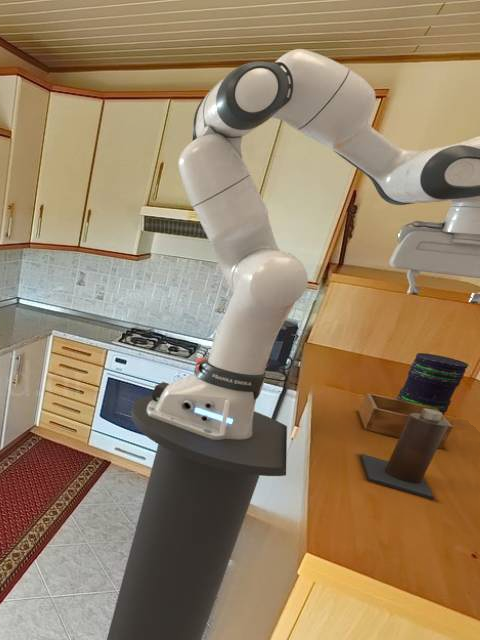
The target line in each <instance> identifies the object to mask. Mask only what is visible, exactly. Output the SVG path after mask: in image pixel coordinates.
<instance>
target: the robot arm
mask: <svg viewBox="0 0 480 640" xmlns="http://www.w3.org/2000/svg"><path fill="white" fill-rule="evenodd" d="M375 106H376V91H375V89H374V88H373V87H372V86H371V85H370V84H369V83H368V81H367V80H366V79H364V78H363V77H362V76H361V75H359V74H358V73H357V72H355V71H353V70H352V69H350V68H348V67H346V66H345V65H343V64H341V63H340V62H338V61H336V60H333V58H329V57H327V56H324V55H322V54H320V53H317V52H315V51H311V50H307V49H303V48H296V49H295V48H294V49H293V50H292V49H291V50H290V51H287V52H286V53H284V54H283V55H281V56H280V57H279V58H278V59H276V60H275V61H272V62H271V61H270V62H269V61H262V60H261V61H260V60H259V61H251V62H247V63H244V64H242V65H240V66H238V67H236V68H234V69H233V70H231V71H230V72H229V73H228V74H227V75H226V76H225V77H224V78H223V79H221V80H219V81H218V82H216V84H215V85H213V86H212V88H211V89H210V90H209V91H208V93H207V94H206V95H205V97H203V98H202V99H201V101H200V103H199V104H198V106H197V108H196V110H195V113H194V117H193V125H192V126H193V127H192V128H193V131H192V140H191V142H190V143H188V144H187V145H186V146H185V147H184V149H183V150H182V152H181V153H180V155H179V157H178V159H177V166H178V167H177V168H178V171H179V175H180V177H181V178H180V179H181V183H182V185H183V188H184V191H185V193H186V196H187V198H188V200H189V203H190V204H191V205H190V206H191V207H192V209H193V210H194V213H195V215H196V217H197V219H198V221H199V223H200V224H201V227H202V229H203V230H204V233H205V235H206V237H207V239H208V241H209V243H210V245H211V249H212V251H213V254H214V256H215V259H216V261H217V263H218V266H219V268H220V270H221V273H222V275H223V277H224V279H225V282H226V284H227V286H228V288H229V290H230V291H231V292H232V295H231V296H232V297H231V299H230V302H229V304H228V306H227V308H226V310H225V312H224V315H223V317H222V320H221V321H220V323H219V324H218V325H217V328H216V331H215V334H214V338H213V341H212V345H211V348H210V352H209V355H208V359H207V358H205V357H203V356H200V357H199V358H197V360H196V361H195V368H194V372H193V374H191V375H188V376H185V377H183V378H180V379H177V380H175V381H172V382H170V383H167V382H165V381H162V382H160V383H158V384H156V385H155V386H154V389H153V390H152V392H151V395H152V398H153V400H152V401H151V402H150V403H149V404H148V406H147V409H146V411H147V414H148V415H149V416H150V417H153V418H155V419H158V420H161V421H163V422H166V423H169V424H171V425H174V426H177V427H180V428H182V429H185V430H188V431H190V432H193V433H196V434H199V435H201V436H204V437H207V438H210V439H213V440H222V439H236V440H240V439H248V438H250V437H251V436H252V435H253V431H252V425H253V414H254V411H255V408H256V402H257V399H258V398H259V397H260V395H261V393H262V390H263V387H264V384H265V381H266V379H265V378H266V373H265V372H266V368H267V364H268V361H269V359H270V356H271V353H272V350H273V347H274V344H275V342H276V339H277V337H278V334H279V332H280V330H281V328H282V327H283V326H284V324H285V322H286V320H287V318H288V316H289V314H290V313H291V311H292V309H293V307H294V305H295V304H296V303H297V302H298V301H299V300H300V299H301V298H302V296H303V295H304V294H305V292H306V290H307V288H308V283H309V276H308V272H307V270H306V268H305V266H304V264H303V263H302V262H301V260H300V259H299V258H298V257H297V256H295V255H293V254H292V253H290V252H286V251H283V250H281V249H280V248H279V247H278V244H277V242H276V238H275V236H274V233H273V229H272V227H271V226H272V225H271V223H270V219H269V211H268V208H267V207H266V204H265V202H264V199H263V198H262V196H261V194H260V192H259V189H258V187H257V185H256V183H255V181H254V179H253V177H252V175H251V173H250V171H249V169H248V167H247V165H246V163H245V162H244V160H243V155H242V140H243V138H244V137H246V136H247V135H250V133H252V132H253V131H255V130H256V129H258V127H260V126H261V125H263V124H264V123H266V122H268V121H269V120H270V119H271V118H272V119H277V120H280V121H283V122H285V124H287V125H288V126H290V127H292V128H293V129H295V130H296V131H298V132H299V133H301V134H303V135H304V136H306V137H308V138H310V139H312V140H314V141H315V142H318V143H319V144H321V145H323V146H325V147H326V148H328V149H330V150H332V152H334V153H335V154H336V155H338V156H339V157H341V158H342V159H343V160H344V161H346V162H347V163H349V164H350V165H352V166H353V167H354V168H355V169H357V170H358V171H360V172H361V173H362V174H364V175H365V176H366V177H367V178H368V179H369V180H370V181H371V183H372V184H373V186H374V188H375V190H376V192H377V194H378V195H379V197H380V198H381V199H383V201H385V202H387V203H389V204H391V205H396V206H405V205H411V204H421V203H422V204H425V203H440V202H442V203H443V202H449V201H451V204H450V207H449V209H448V211H447V214H446V216H445V219H444V221H443V222H438V221H437V222H436V221H423V220H414V221H413V222H409V223H407V224H404V225H403V226H402V227H401V228H400V231H399V233H398V235H397V241H398V244H397V245H396V247H395V249H394V250H393V253H392V255H391V256H390V259H389V262H388V263H389V265H390V267H391V268H393V269H400V270H407V273H406V277H407V281H408V284H409V286H408V289H407V291H406V294H407V295H413V296H418V295H419V292H420V290H421V288H422V286H421V285H417V284H416V280H415V277H416V278H417V277H419V275H420V272H425V273H433V274H439V275H440V274H441V275H450V276H457V277H465V278H472V279H473V278H474V279H480V135H478V136H475V137H472V138H470V139H467V140H464V141H460V142H457V143H453V144H448V145H444V146H438V147H434V148H429V149H424V150H412V149H411V150H409V149H404V148H401V147H399V146H397V145H396V144H395V143H393V142H392V141H391V140H389V139H388V138H386V137H385V136H384V135H382V133H380V132H378V131H377V130H376V129H374V128H373V127H372V125H371V124H370V120H369V119H370V118H371V116H372V114H373V112H374V110H375ZM467 302H468V303H471V304H477V305H480V291H478V292H477V293H476V292H471V294H470V297H469V298H468V301H467ZM156 397H158V398H156Z"/></svg>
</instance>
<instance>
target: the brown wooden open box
mask: <svg viewBox="0 0 480 640" xmlns="http://www.w3.org/2000/svg"><path fill="white" fill-rule="evenodd" d="M423 409H432V410H436V411H438V412H440V411H439V410H438V409H437V408H433V407H429V406H424V405H420V404H415V403H411V402H406V401H402V400H397V398H393V397H389V396H388V397H387V396H384V395H379V394H375V393H369V392H366V393H365V395H364V397H363V400H362V403H361V404H360V408H359V409H358V414H359V417H360V419H361V422H362V425H363V428H364V430H366V431H370V432H373V433H377V434H382V435H386V436H390V437H394V438H396V439H397V438H398V439H399V438H400V435H401V433H402V431H403V429H404V427H405V425H406V422H407V420H408V418H409V416H410V414H411V413H418V414H421V413H422V411H423ZM441 420H443V421H445V422H447V423H448V424H449V426H448V428H447V430H446V432H445V434H444V436H443V438H442V440H441V442H440V444H439V446H438V448H437V449H440V450H441V449H443V448H444V447H445V444H446V442H447V440H448V438H449V436H450V434H451V432H452V430H453V427H454V426H453V425H452V424H451V423H450V422H449V420H448V419H447V418H446V417H445V415H444V416H443V415H442V417H441Z"/></svg>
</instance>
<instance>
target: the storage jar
mask: <svg viewBox="0 0 480 640" xmlns="http://www.w3.org/2000/svg"><path fill="white" fill-rule="evenodd" d="M468 367H469V363H467V362H465V361H462V360H459V359H456V358H451V357H448V356H442V355H438V354H433V353H424V352H418V353H416V355H415V359H413V361H412V363H411V365H410V369H409V370H408V372H407V375H408V376H407V378H406V381H405V383H404V385H403V387H402V388H400V390H399V394H397V396H396V399H397V400H402V401H406V402H411V403H415V404H420V405H424V406H429V407H433V408H437V409H438V410H439V411H440V412H441V413H442V414H443V416H444V417H445V413H447V411H448V409H449V406H451V402H452V401H451V399H452V397H453V395H454V393H455V391H456V389H457V388H458V387H459V386H460V385H461V382H462V380H463V378H464V377H465V373H466V371H467V370H466V369H468Z"/></svg>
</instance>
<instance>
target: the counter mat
mask: <svg viewBox="0 0 480 640" xmlns="http://www.w3.org/2000/svg"><path fill="white" fill-rule="evenodd" d="M360 459H361V462H362V465H363V468H364V472H365V475H366V478H367V481H368V482H372V483H375V484H377V485H381V486H384V487H388V488H391V489H395V490H398V491H402V492H405V493H409V494H411V495H415V496H419V497H422V498H425V499H429V500H433V499H434V498H435V496H434V494H433V492H432V491H431V489H430V487H429V485H428V484H427V482H426V480H425V478H424V477H423V478H422V481H421V482H420V483H410V482H406V481H402V480H399V479H397V478H395V477H393V476H391V475H389V474H388V473H386V471H385V468H386V466H387V464H388V462H389V460H386V459H382V458H380V457H379V458H378V457H374V456H371V455H367V454H364V453H361V454H360Z"/></svg>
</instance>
